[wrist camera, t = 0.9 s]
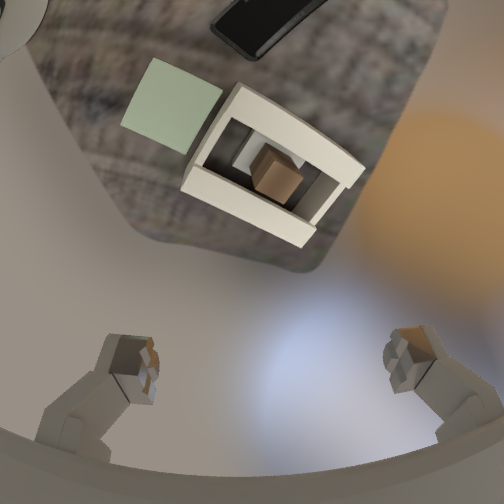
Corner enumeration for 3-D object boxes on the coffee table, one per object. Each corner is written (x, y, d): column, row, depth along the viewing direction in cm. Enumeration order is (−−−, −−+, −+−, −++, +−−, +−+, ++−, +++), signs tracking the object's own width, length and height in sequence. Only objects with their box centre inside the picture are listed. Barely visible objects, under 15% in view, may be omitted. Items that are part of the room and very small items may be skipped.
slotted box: (185, 168, 41) (180, 190, 35) (238, 81, 34) (241, 86, 28) (291, 221, 47) (301, 248, 42) (345, 150, 41) (365, 168, 35)
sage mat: (121, 123, 35) (120, 124, 35) (154, 57, 31) (153, 57, 30) (185, 153, 39) (185, 154, 39) (223, 90, 35) (223, 90, 34)
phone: (335, -6, 26) (254, 64, 32) (332, -5, 27) (253, 64, 33) (290, -46, 23) (205, 26, 28) (288, -43, 24) (206, 27, 29)
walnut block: (249, 166, 39) (254, 189, 34) (265, 142, 37) (274, 160, 32) (274, 180, 41) (283, 204, 35) (290, 157, 39) (303, 177, 33)
